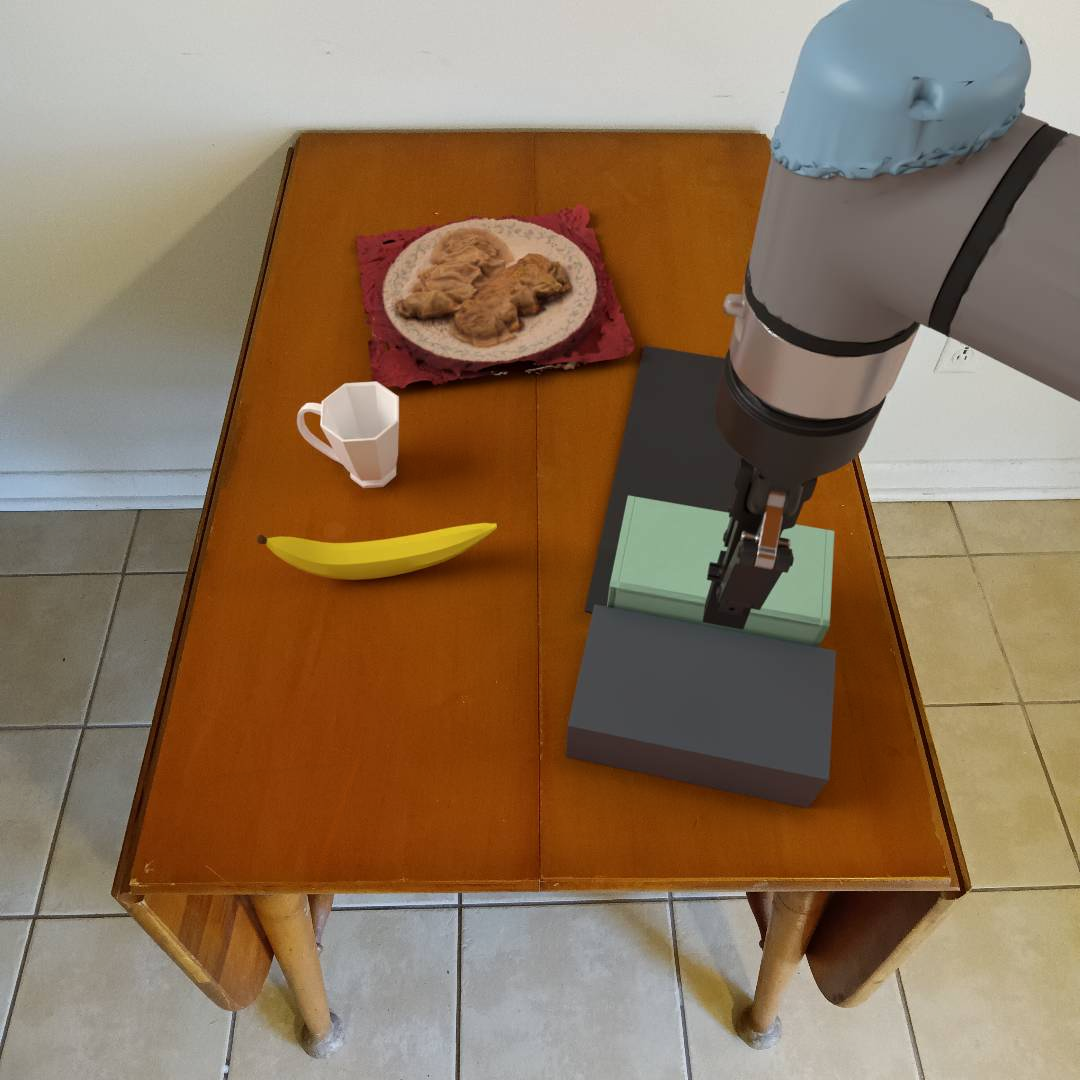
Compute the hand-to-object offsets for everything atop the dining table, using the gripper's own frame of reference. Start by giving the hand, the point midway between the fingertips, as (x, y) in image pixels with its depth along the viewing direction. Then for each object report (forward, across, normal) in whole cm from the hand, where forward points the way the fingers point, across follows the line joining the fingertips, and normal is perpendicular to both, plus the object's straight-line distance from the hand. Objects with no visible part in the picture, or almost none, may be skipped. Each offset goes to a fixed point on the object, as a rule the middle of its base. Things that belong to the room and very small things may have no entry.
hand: (724, 616), depth 63 cm
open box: (+9, -4, 0) cm, 9 cm away
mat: (+13, -21, -3) cm, 25 cm away
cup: (+13, -16, -33) cm, 39 cm away
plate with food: (+13, -40, -27) cm, 50 cm away
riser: (+13, +2, 0) cm, 13 cm away
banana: (+13, -6, -27) cm, 31 cm away
